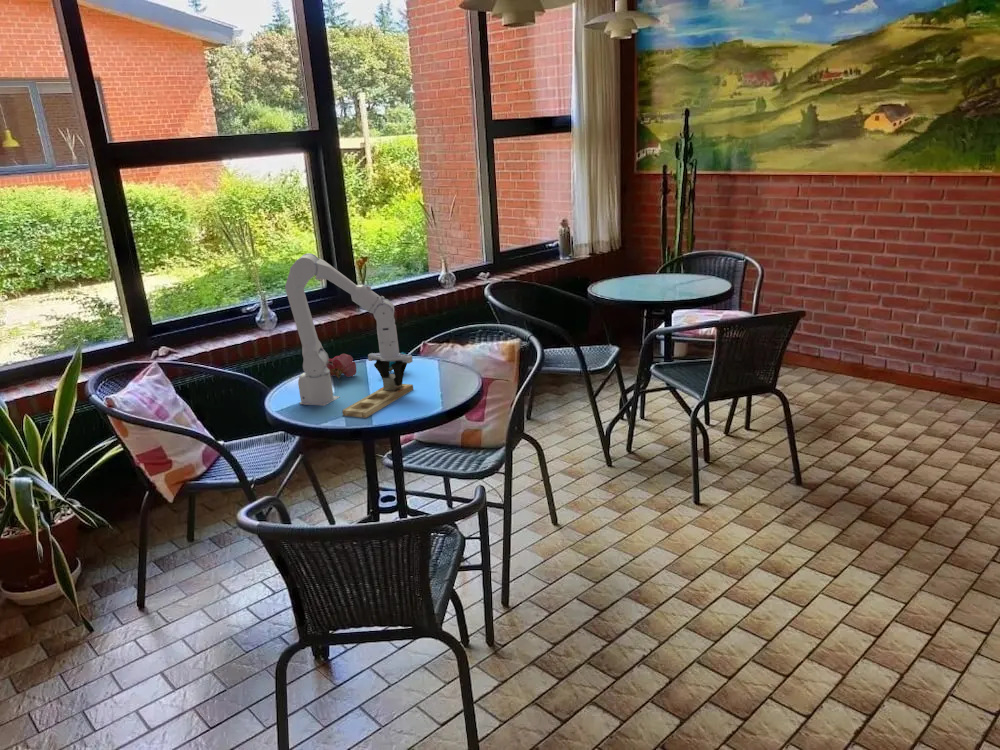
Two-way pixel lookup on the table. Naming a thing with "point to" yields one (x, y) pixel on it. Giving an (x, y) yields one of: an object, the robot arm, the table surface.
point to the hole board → (375, 401)
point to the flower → (342, 366)
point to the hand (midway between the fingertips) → (393, 384)
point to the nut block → (390, 383)
